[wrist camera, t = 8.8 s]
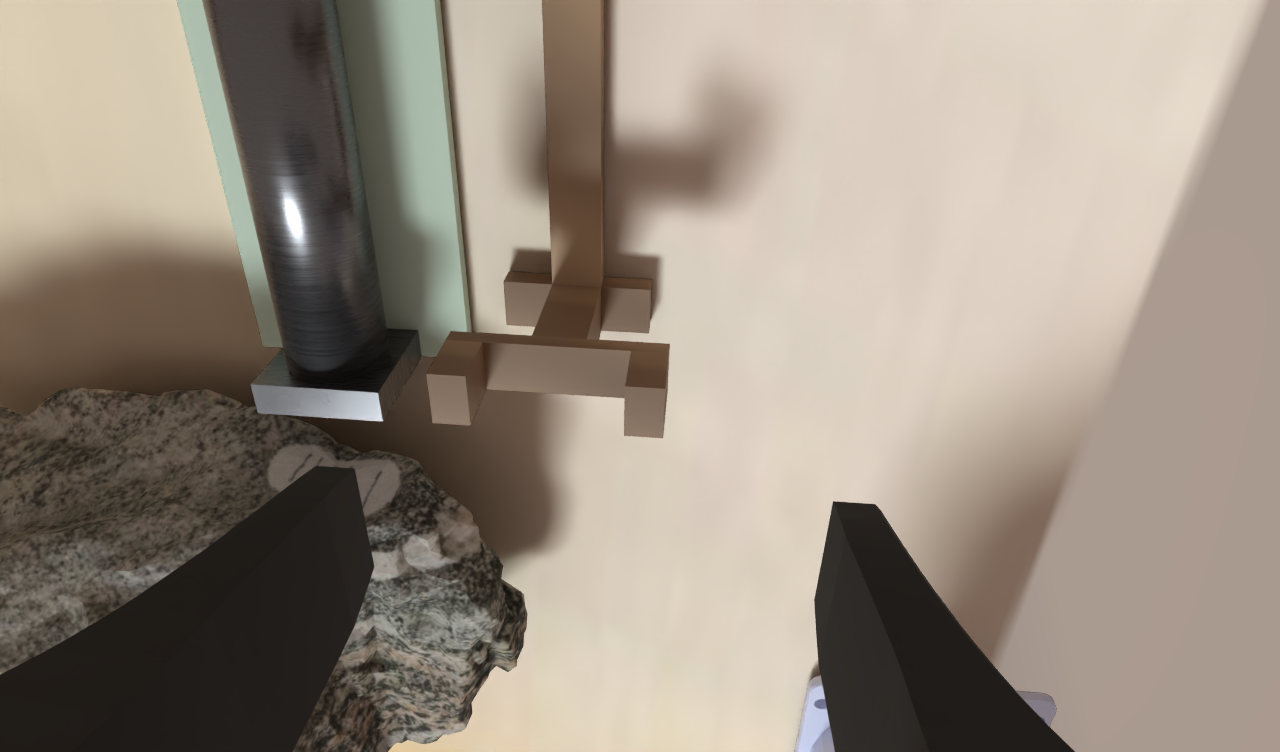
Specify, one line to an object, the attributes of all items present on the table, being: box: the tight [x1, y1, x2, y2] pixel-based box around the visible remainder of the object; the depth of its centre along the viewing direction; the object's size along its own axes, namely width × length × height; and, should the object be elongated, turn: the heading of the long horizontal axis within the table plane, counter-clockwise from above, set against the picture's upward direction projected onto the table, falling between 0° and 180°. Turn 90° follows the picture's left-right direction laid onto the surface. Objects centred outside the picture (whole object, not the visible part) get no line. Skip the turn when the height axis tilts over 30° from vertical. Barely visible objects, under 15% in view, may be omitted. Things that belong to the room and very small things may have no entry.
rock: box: [0, 387, 527, 752], centre depth 23 cm, size 18×10×10 cm
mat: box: [177, 0, 472, 357], centre depth 19 cm, size 12×6×1 cm, turn 179°
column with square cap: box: [202, 0, 422, 422], centre depth 17 cm, size 12×3×3 cm, turn 179°
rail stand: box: [426, 0, 670, 438], centre depth 17 cm, size 10×5×5 cm, turn 179°
